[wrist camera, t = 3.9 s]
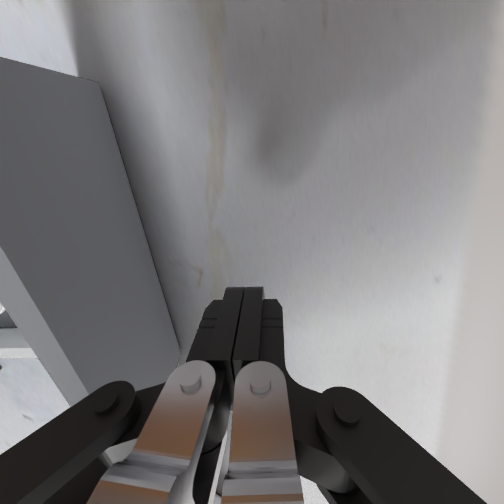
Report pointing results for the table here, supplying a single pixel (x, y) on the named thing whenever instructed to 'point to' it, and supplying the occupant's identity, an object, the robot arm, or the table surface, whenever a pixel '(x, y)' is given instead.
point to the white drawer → (74, 241)
